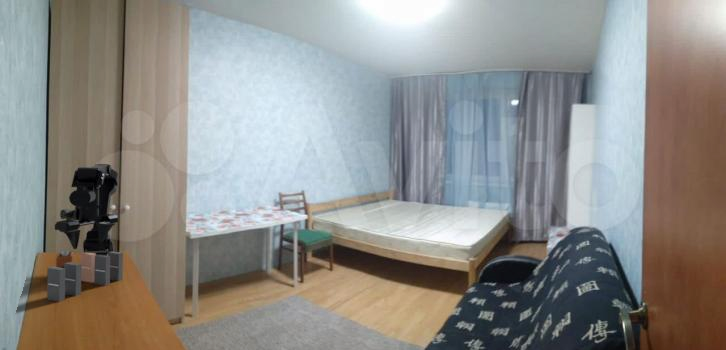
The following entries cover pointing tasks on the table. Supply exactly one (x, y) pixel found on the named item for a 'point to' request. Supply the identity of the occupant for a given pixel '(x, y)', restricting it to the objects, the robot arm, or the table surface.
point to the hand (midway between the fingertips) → (88, 245)
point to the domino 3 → (87, 266)
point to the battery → (64, 258)
